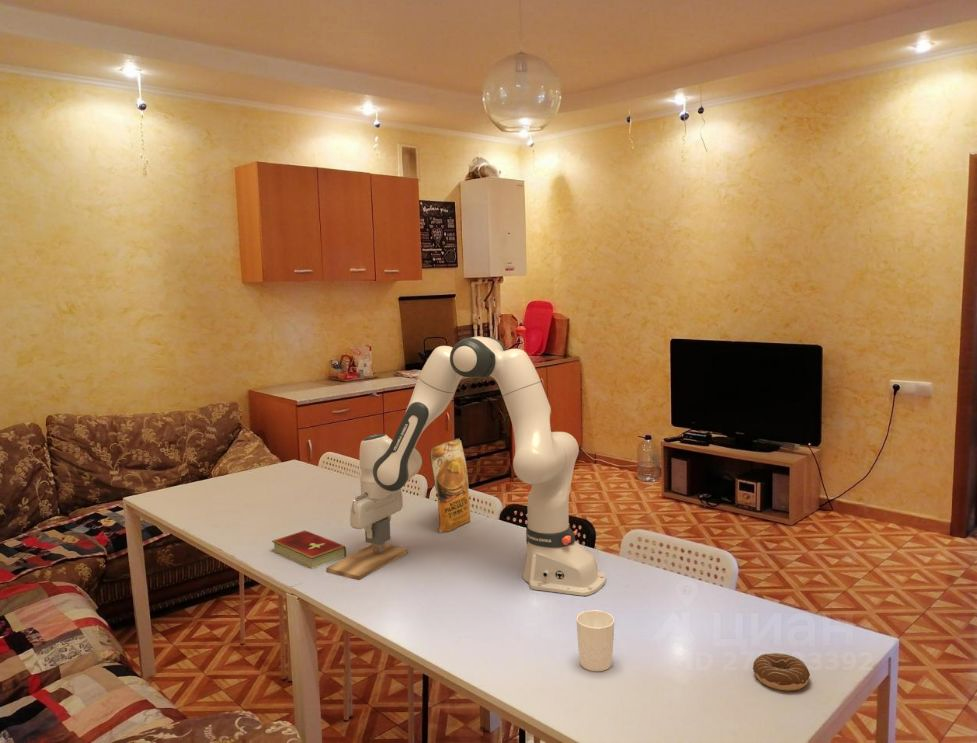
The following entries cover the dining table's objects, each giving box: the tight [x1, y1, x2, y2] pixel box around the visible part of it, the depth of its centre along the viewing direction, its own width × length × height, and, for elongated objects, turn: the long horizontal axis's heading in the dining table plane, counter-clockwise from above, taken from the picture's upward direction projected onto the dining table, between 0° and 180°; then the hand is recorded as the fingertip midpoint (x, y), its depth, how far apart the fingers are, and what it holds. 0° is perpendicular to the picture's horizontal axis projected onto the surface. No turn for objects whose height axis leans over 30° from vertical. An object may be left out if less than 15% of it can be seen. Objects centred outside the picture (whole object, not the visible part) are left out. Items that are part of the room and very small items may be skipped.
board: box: [326, 543, 409, 581], centre depth 210 cm, size 12×22×1 cm, turn 149°
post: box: [371, 542, 386, 554], centre depth 214 cm, size 3×3×6 cm
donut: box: [752, 652, 811, 692], centre depth 145 cm, size 11×11×4 cm
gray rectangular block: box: [364, 517, 391, 545], centre depth 214 cm, size 5×5×7 cm
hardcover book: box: [271, 530, 347, 569], centre depth 217 cm, size 12×21×4 cm, turn 47°
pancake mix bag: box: [429, 437, 471, 534], centre depth 237 cm, size 7×19×28 cm, turn 144°
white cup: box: [576, 609, 615, 672], centre depth 153 cm, size 8×8×10 cm
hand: (378, 534), depth 214 cm, fingers closed on gray rectangular block, 5 cm apart
